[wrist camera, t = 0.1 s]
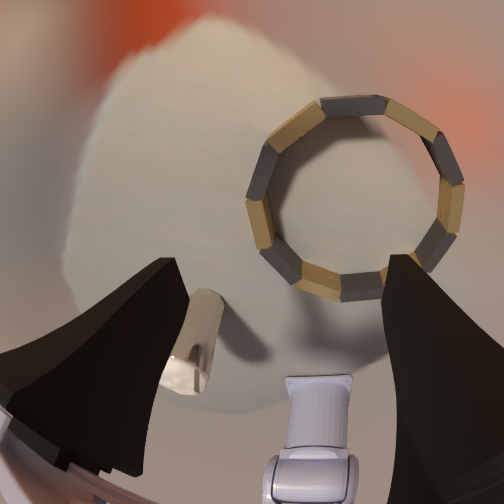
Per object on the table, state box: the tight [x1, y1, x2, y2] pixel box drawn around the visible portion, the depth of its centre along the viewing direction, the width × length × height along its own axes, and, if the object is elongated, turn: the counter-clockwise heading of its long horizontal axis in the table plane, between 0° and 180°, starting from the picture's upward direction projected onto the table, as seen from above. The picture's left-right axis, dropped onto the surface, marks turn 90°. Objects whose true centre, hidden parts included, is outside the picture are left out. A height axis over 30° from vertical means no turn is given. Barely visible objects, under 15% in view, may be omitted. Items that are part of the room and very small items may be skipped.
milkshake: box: [159, 289, 225, 395], centre depth 21 cm, size 5×5×10 cm
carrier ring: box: [245, 95, 465, 302], centre depth 16 cm, size 14×14×2 cm
